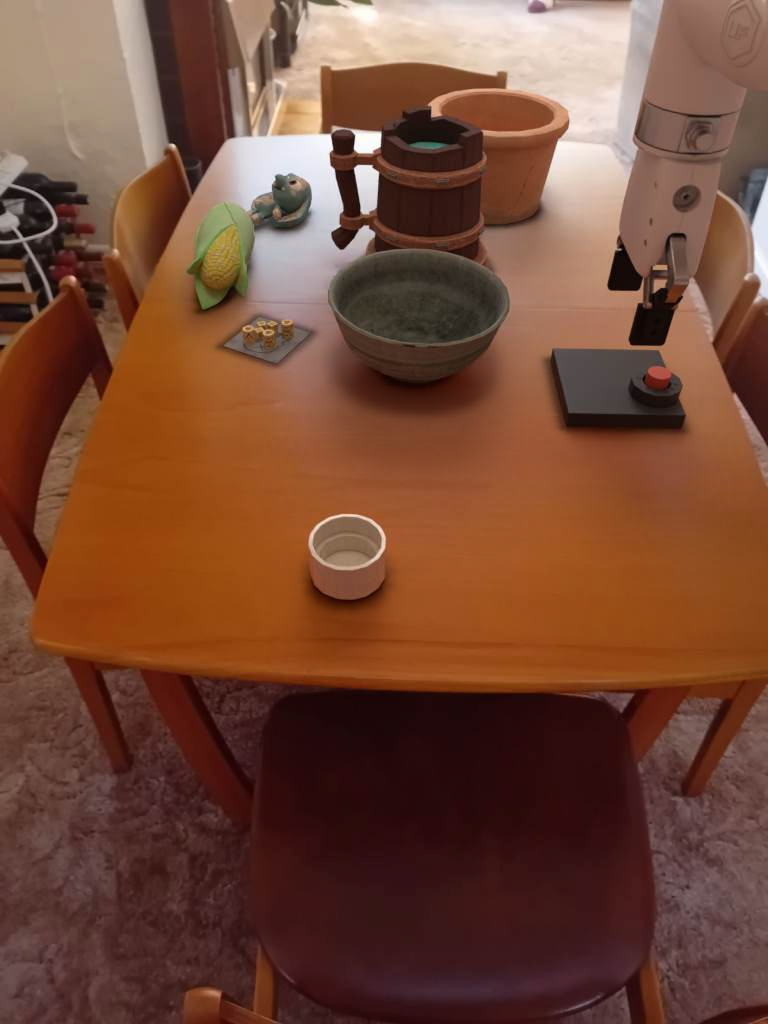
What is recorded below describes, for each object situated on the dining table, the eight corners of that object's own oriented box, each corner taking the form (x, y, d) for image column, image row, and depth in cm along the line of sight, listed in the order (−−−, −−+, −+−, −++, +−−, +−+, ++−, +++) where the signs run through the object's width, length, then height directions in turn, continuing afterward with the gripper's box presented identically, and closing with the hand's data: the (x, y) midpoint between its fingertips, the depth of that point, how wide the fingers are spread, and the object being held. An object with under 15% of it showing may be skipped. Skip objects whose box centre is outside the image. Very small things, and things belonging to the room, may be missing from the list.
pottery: (549, 179, 138) (563, 90, 128) (558, 236, 122) (575, 139, 112) (425, 173, 139) (430, 84, 129) (418, 229, 123) (423, 132, 113)
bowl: (422, 302, 107) (426, 232, 100) (535, 371, 96) (549, 298, 89) (297, 355, 98) (291, 281, 91) (406, 439, 87) (409, 362, 80)
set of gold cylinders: (296, 334, 101) (295, 321, 100) (273, 353, 98) (272, 340, 97) (263, 324, 103) (262, 310, 102) (240, 342, 100) (238, 329, 98)
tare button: (664, 377, 90) (668, 366, 89) (670, 390, 88) (674, 379, 87) (642, 376, 90) (645, 365, 89) (647, 390, 88) (650, 379, 87)
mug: (335, 238, 121) (330, 97, 107) (483, 240, 121) (498, 99, 107) (328, 299, 108) (322, 148, 94) (494, 301, 108) (513, 150, 94)
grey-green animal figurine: (221, 184, 121) (281, 150, 125) (234, 225, 127) (291, 192, 131) (262, 206, 116) (324, 170, 120) (274, 249, 121) (332, 213, 125)
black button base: (655, 363, 98) (662, 338, 95) (682, 428, 88) (690, 403, 86) (550, 361, 98) (554, 336, 95) (565, 426, 88) (571, 401, 86)
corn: (271, 210, 116) (258, 280, 102) (244, 252, 121) (229, 324, 107) (220, 178, 113) (200, 246, 99) (195, 222, 117) (172, 293, 103)
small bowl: (371, 540, 76) (371, 506, 72) (395, 592, 71) (396, 559, 68) (303, 557, 74) (299, 523, 71) (323, 611, 69) (320, 578, 66)
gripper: (769, 168, 56) (698, 368, 69) (701, 90, 69) (651, 271, 81) (664, 167, 56) (612, 367, 68) (615, 89, 69) (578, 270, 81)
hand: (633, 315), depth 75 cm, fingers open, 9 cm apart
